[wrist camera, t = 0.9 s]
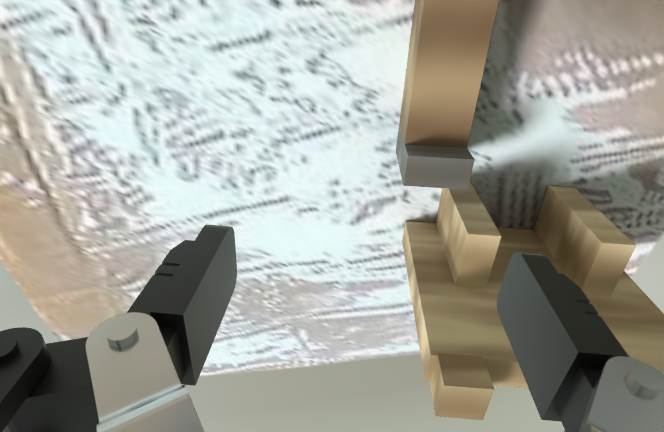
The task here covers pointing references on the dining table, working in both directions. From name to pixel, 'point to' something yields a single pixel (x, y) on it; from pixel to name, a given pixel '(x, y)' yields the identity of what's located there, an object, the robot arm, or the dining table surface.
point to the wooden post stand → (485, 281)
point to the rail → (442, 90)
